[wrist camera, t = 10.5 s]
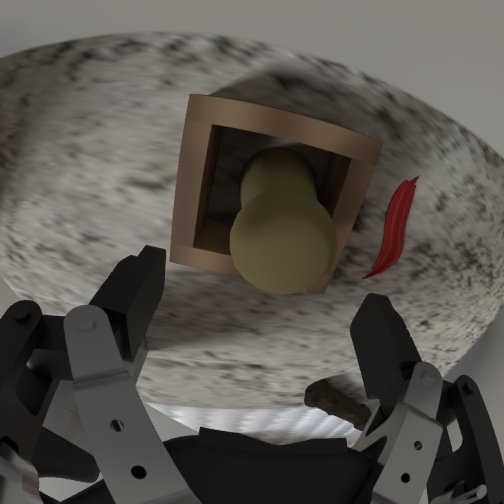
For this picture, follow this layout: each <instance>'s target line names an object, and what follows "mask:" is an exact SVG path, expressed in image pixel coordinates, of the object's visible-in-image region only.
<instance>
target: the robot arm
mask: <svg viewBox="0 0 504 504" xmlns="http://www.w3.org/2000/svg"><path fill="white" fill-rule="evenodd" d="M165 266H166V250H165V249H162V248H158V247H153V246H149V245H146V246H145V247H144V248H143V250H142V251H141V252H140V254H139V255H138V257H137V256H133V255H130V256H128V257H126V258H124V259H123V260H121V261H120V262H119V263H118V264H117V266H116V267H115V268H114V270H113V271H112V272H111V274H110V275H109V276H108V279H106V280H105V282H104V283H103V284H102V286H101V287H100V289H99V290H98V291H97V293H96V294H95V296H94V297H93V298H92V300H91V301H90V303H89V304H88V305H81V306H78V307H75V308H74V309H72V310H71V311H69V312H68V314H67V315H66V316H52V315H43V314H42V311H41V308H40V306H39V305H38V304H37V303H36V302H34V301H31V300H22V301H18V302H16V303H14V304H13V305H12V306H10V307H9V308H8V309H7V311H6V312H5V314H4V315H3V316H2V318H1V319H0V504H419V501H420V499H421V496H422V494H423V491H424V489H425V486H427V494H428V504H504V465H503V460H502V456H501V453H500V449H499V445H498V442H497V438H496V435H495V432H494V429H493V426H492V423H491V420H490V417H489V415H488V411H487V409H486V406H485V403H484V401H483V398H482V396H481V393H480V391H479V389H478V386H477V384H476V383H475V382H474V380H472V379H471V378H470V377H469V376H466V375H461V376H459V377H458V378H457V380H455V382H454V383H451V382H448V381H444V380H443V379H442V376H441V374H440V372H439V371H438V369H437V368H436V367H435V366H433V365H432V364H430V363H428V362H423V361H422V360H421V357H420V355H419V353H418V351H417V348H416V346H415V344H414V342H413V340H412V338H411V337H410V333H409V331H408V329H406V328H407V327H406V325H405V323H404V321H403V319H402V317H401V316H400V315H399V314H398V313H397V312H396V311H395V310H394V308H393V306H392V304H391V302H390V300H389V298H388V297H387V296H385V295H379V294H374V293H369V294H368V295H367V296H366V298H365V300H364V301H363V303H362V305H361V307H360V308H359V310H358V312H357V314H356V315H355V317H354V319H353V321H352V323H351V327H350V334H351V338H352V342H353V345H354V349H355V352H356V356H357V360H358V363H359V367H360V371H361V375H362V379H363V382H364V386H365V391H366V395H367V399H379V400H380V403H379V404H378V405H377V406H376V407H375V409H374V411H373V413H372V415H371V417H370V419H369V421H368V422H367V424H366V426H365V428H364V430H363V432H362V434H361V435H360V437H359V439H358V440H357V442H356V443H355V444H354V445H353V446H352V447H351V448H349V447H347V441H346V438H325V439H310V440H306V441H301V442H297V443H292V444H287V445H280V446H278V445H273V444H270V443H266V442H263V441H260V440H257V439H254V438H251V437H248V436H245V435H243V434H240V433H234V432H227V431H220V430H214V429H209V428H203V427H200V430H199V435H192V436H191V435H190V436H182V437H178V438H173V439H170V440H167V441H164V442H162V441H161V439H160V437H159V435H158V434H157V432H156V430H155V428H154V426H153V424H152V422H151V420H150V418H149V416H148V414H147V412H146V410H145V407H144V405H143V403H142V401H141V399H140V396H139V394H138V392H137V390H136V387H135V385H136V383H137V380H138V377H139V375H140V372H141V369H142V366H143V364H144V361H145V359H146V356H147V353H148V350H147V349H146V348H145V338H144V336H145V333H146V331H147V329H148V326H149V324H150V322H151V319H152V317H153V315H154V313H155V310H156V308H157V306H158V304H159V302H160V299H161V297H162V294H163V290H164V283H165ZM456 419H457V421H458V424H459V427H460V431H461V434H462V438H463V441H462V445H461V447H460V448H459V449H458V450H456V451H455V452H453V451H452V447H451V443H450V439H449V435H448V431H447V426H448V425H449V424H451V423H452V422H453V421H454V420H456ZM100 472H101V474H102V476H103V479H102V480H100V481H99V482H97V483H95V484H93V485H92V486H90V487H88V488H86V489H84V490H83V491H81V492H79V493H77V494H75V495H73V496H71V497H69V498H67V499H65V500H63V501H61V502H59V501H57V500H55V499H54V498H52V497H50V496H48V495H46V494H44V493H42V492H41V491H39V478H40V477H56V478H65V479H70V480H75V481H80V482H86V483H93V482H95V481H96V480H97V478H98V476H99V473H100Z"/></svg>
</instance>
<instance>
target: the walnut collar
mask: <svg viewBox="0 0 504 504" xmlns="http://www.w3.org/2000/svg"><path fill="white" fill-rule="evenodd" d="M223 126H227V127H233V128H238V129H243V130H248V131H253V132H257V133H262V134H266V135H271V136H275V137H279V138H283V139H287V140H291V141H295V142H299V143H303V144H306V145H310V146H314V147H317V148H321V149H324V150H327V151H331V152H332V153H331V156H330V159H329V163H328V166H327V169H326V172H325V176H324V179H323V182H322V185H321V188H320V191H319V195H318V198H317V199H318V202H319V203H320V204H321V205H322V206H323V207H325V208H326V210H327V212H328V214H329V216H330V217H331V219H332V221H333V223H334V225H335V227H336V234H337V251H336V255H335V259H334V263H333V264H332V266H331V267H330V269H329V271H328V272H327V274H326V275H325V276H324V277H323V278H322V279H321V280H320V281H319V282H318V283H316V284H315V285H314V286H313V287H311V288H309V289H306V290H307V291H313V292H318V293H323V294H324V292H325V290H326V288H327V286H328V284H329V281H330V279H331V277H332V275H333V273H334V270H335V268H336V266H337V263H338V261H339V259H340V257H341V254H342V252H343V250H344V247H345V245H346V242H347V240H348V237H349V235H350V233H351V230H352V228H353V225H354V223H355V220H356V218H357V215H358V212H359V210H360V207H361V204H362V202H363V199H364V196H365V194H366V191H367V188H368V185H369V183H370V180H371V177H372V174H373V171H374V168H375V165H376V162H377V159H378V156H379V153H380V150H381V147H382V144H383V142H380V141H378V140H376V139H374V138H371V137H369V136H367V135H364V134H362V133H359V132H357V131H354V130H351V129H348V128H345V127H342V126H339V125H336V124H333V123H330V122H327V121H323V120H320V119H317V118H313V117H310V116H306V115H303V114H299V113H295V112H291V111H287V110H283V109H279V108H275V107H271V106H266V105H262V104H257V103H252V102H247V101H242V100H236V99H230V98H224V97H218V96H211V95H199V94H190V97H189V102H188V107H187V113H186V119H185V125H184V131H183V137H182V144H181V151H180V158H179V165H178V173H177V182H176V190H175V200H174V210H173V221H172V233H171V248H170V262H173V263H177V264H182V265H186V266H191V267H195V268H200V269H204V270H209V271H214V272H218V273H223V274H228V275H232V276H237V277H242V278H243V276H242V275H241V274H240V273H239V271H238V270H237V269H236V267H235V264H234V261H233V259H232V256H231V252H230V232H231V229H232V226H233V224H234V223H230V222H225V221H220V220H216V219H211V218H207V214H208V208H209V202H210V195H211V189H212V184H213V178H214V172H215V166H216V161H217V155H218V150H219V145H220V140H221V135H222V129H223Z"/></svg>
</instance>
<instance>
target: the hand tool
mask: <svg viewBox="0 0 504 504" xmlns="http://www.w3.org/2000/svg"><path fill="white" fill-rule="evenodd" d="M304 403H305V405H306V406H308V407H316V408H319V409H321V410H323V411H325V412H326V413H327V414H328V415H334V416H337V417H339V418H341V419H344V420H346V421H348V422H350V423H352V424H353V425H354V428H355V429H359V430H360V431H363V430H364V428H365V426H366V424H367V422H368V421H369V419H370V417H371V415H372V413H371V411H370V410H369V408H367V407H366V405H364V404H361V405H359V404H357V403H356V402H354V401H353V400H351V399H349V398H347V397H345V396H344V395H343V394H341V393H339V392H337V391H335V390H333V389H332V388H330V387H328V382H327V381H326V380H325V379H321V380H319V381H317V382H314V383H313V384H311V385H309V386H308V387H307V389H306V391H305V398H304Z"/></svg>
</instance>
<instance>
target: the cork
mask: <svg viewBox="0 0 504 504" xmlns="http://www.w3.org/2000/svg"><path fill="white" fill-rule="evenodd" d="M239 190H240V198H241V207H242V209H241V210H240V212H239V213H238V214H237V216H236V219H235V221H234V224H233V226H232V229H231V232H230V252H231V256H232V259H233V261H234V264H235V267H236V269H237V270H238V271H239V273H240V274H241V275H242V276H243V278H244V279H245V280H246V281H248V282H249V283H250V284H252V285H253V286H255V287H256V288H258V289H259V290H262V291H265V292H268V293H271V294H281V295H288V294H294V293H299V292H302V291H304V290H306V289H309V288H311V287H313V286H314V285H315V284H316V283H318V282H319V281H320V280H321V279H322V278H323V277H324V276H325V275H326V274H327V272H328V271H329V269H330V267H331V266H332V264H333V263H334V259H335V255H336V251H337V234H336V227H335V225H334V223H333V221H332V219H331V217H330V216H329V214H328V212H327V210H326V208H325V207H323V206H322V205H321V204H320V203H319V202H318V199H317V189H316V181H315V176H314V171H313V170H312V168H311V166H310V164H309V163H308V161H307V160H306V159H305V158H303V157H302V156H301V155H300V154H299V153H297V152H294V151H292V150H290V149H287V148H277V147H274V148H270V149H265V150H262V151H260V152H258V153H257V154H255V155H253V156H252V157H251V158H250V159H249V160H248V162H247V163H246V164H245V165H244V167H243V170H242V172H241V174H240V183H239Z"/></svg>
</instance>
